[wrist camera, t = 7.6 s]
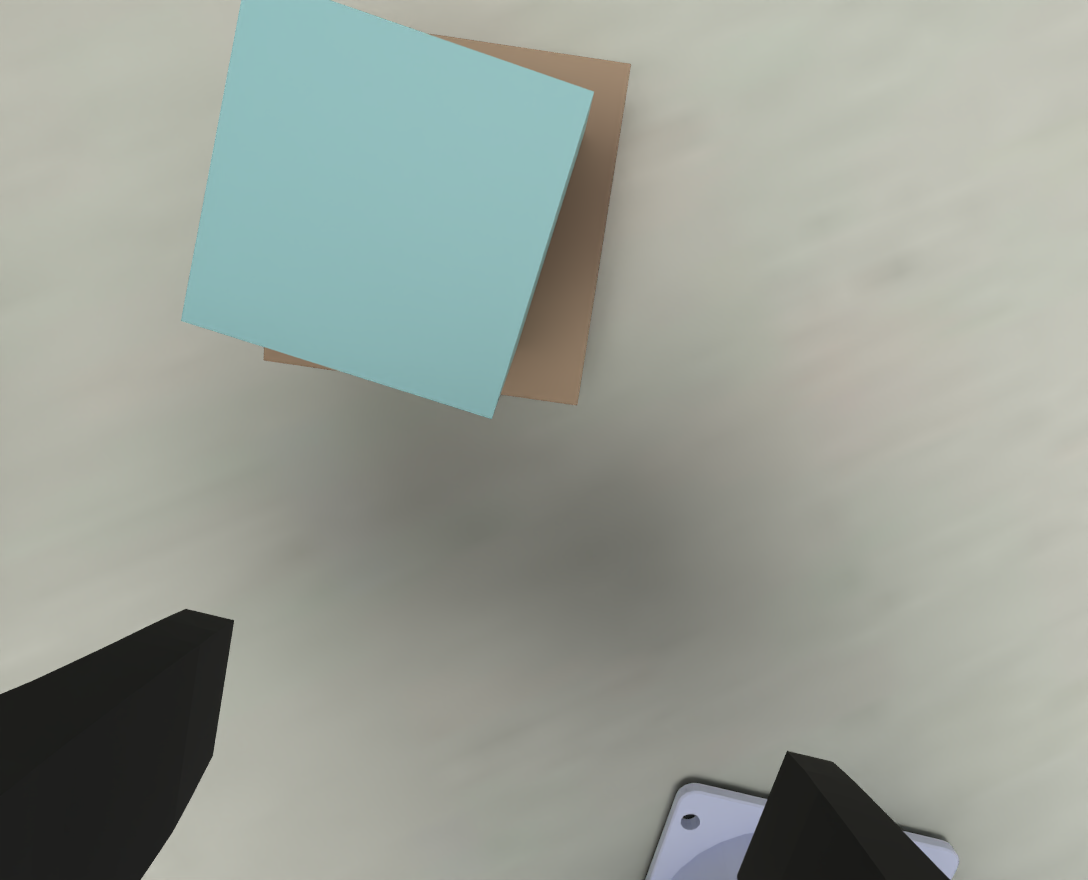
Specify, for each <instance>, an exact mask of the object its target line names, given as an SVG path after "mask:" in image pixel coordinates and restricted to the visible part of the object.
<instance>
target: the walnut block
mask: <svg viewBox="0 0 1088 880" xmlns="http://www.w3.org/2000/svg"><path fill="white" fill-rule="evenodd" d="M426 34H427V33H426ZM429 35H432V36H435V37H438V38H440V39H443V40H446V41H449V42H452V43H455V44H458V45H461V46H464V47H466V48H469V49H472V50H475V51H478V52H481V53H484V54H487V55H490V56H492V57H495V58H498V59H501V60H504V61H507V62H510V63H513V64H516V65H518V66H521V67H524V68H527V69H530V70H533V71H536V72H539V73H542V74H544V75H547V76H550V77H553V78H556V79H559V80H562V81H565V82H568V83H570V84H573V85H576V86H579V87H582V88H585V89H588V90H591V91H594V95H593V99H592V103H591V107H590V111H589V116H588V120H587V124H586V128H585V132H584V136H583V139H582V142H581V145H580V148H579V152H578V155H577V158H576V161H575V164H574V168H573V171H572V174H571V177H570V180H569V183H568V187H567V190H566V193H565V196H564V199H563V202H562V206H561V209H560V212H559V215H558V218H557V222H556V225H555V228H554V231H553V234H552V237H551V241H550V244H549V247H548V250H547V253H546V257H545V260H544V263H543V266H542V269H541V272H540V276H539V279H538V282H537V285H536V288H535V292H534V295H533V298H532V301H531V304H530V307H529V311H528V314H527V317H526V320H525V323H524V327H523V330H522V333H521V336H520V339H519V342H518V346H517V349H516V352H515V355H514V358H513V360H512V363H511V366H510V369H509V372H508V374H507V377H506V380H505V383H504V386H503V389H502V391H501V395H508V396H515V397H522V398H529V399H536V400H543V401H550V402H557V403H564V404H571V405H577V403H578V397H579V391H580V384H581V378H582V371H583V365H584V359H585V352H586V346H587V340H588V333H589V327H590V321H591V314H592V308H593V302H594V295H595V289H596V283H597V276H598V270H599V264H600V257H601V251H602V245H603V238H604V232H605V226H606V219H607V213H608V206H609V200H610V194H611V187H612V181H613V175H614V168H615V162H616V156H617V149H618V143H619V137H620V130H621V124H622V118H623V111H624V105H625V99H626V92H627V86H628V80H629V73H630V67H631V64H628V63H621V62H614V61H608V60H601V59H594V58H588V57H581V56H574V55H568V54H561V53H554V52H548V51H541V50H534V49H528V48H521V47H514V46H508V45H501V44H494V43H488V42H481V41H474V40H467V39H461V38H454V37H447V36H441V35H434V34H429ZM264 360H265V361H272V362H279V363H286V364H293V365H300V366H307V367H313V368H320V369H327V370H334V371H338V370H335V369H332V368H329V367H325V366H322V365H319V364H316V363H313V362H310V361H307V360H303V359H300V358H297V357H294V356H291V355H288V354H284V353H281V352H278V351H275V350H272V349H269V348H265V347H264Z"/></svg>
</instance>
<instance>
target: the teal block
mask: <svg viewBox="0 0 1088 880" xmlns="http://www.w3.org/2000/svg"><path fill="white" fill-rule="evenodd" d="M593 95H594V91H591V90H588V89H585V88H582V87H579V86H576V85H573V84H570V83H568V82H565V81H562V80H559V79H556V78H553V77H550V76H547V75H544V74H542V73H539V72H536V71H533V70H530V69H527V68H524V67H521V66H518V65H516V64H513V63H510V62H507V61H504V60H501V59H498V58H495V57H492V56H490V55H487V54H484V53H481V52H478V51H475V50H472V49H469V48H466V47H464V46H461V45H458V44H455V43H452V42H449V41H446V40H443V39H440V38H438V37H435V36H432V35H429V34H426V33H423V32H420V31H417V30H414V29H412V28H409V27H406V26H403V25H400V24H397V23H394V22H391V21H388V20H386V19H383V18H380V17H377V16H374V15H371V14H368V13H365V12H362V11H360V10H357V9H354V8H351V7H348V6H345V5H342V4H339V3H337V2H334V1H331V0H241V5H240V10H239V16H238V21H237V26H236V31H235V37H234V42H233V47H232V53H231V58H230V63H229V69H228V74H227V79H226V85H225V90H224V95H223V101H222V106H221V111H220V117H219V122H218V127H217V132H216V138H215V143H214V148H213V154H212V159H211V164H210V170H209V175H208V180H207V186H206V191H205V196H204V202H203V207H202V212H201V217H200V223H199V228H198V233H197V239H196V244H195V249H194V255H193V260H192V265H191V271H190V276H189V281H188V287H187V292H186V297H185V302H184V308H183V313H182V318H181V321H183V322H187V323H190V324H193V325H196V326H199V327H202V328H205V329H209V330H212V331H215V332H218V333H221V334H224V335H228V336H231V337H234V338H237V339H240V340H243V341H247V342H250V343H253V344H256V345H259V346H262V347H265V348H269V349H272V350H275V351H278V352H281V353H284V354H288V355H291V356H294V357H297V358H300V359H303V360H307V361H310V362H313V363H316V364H319V365H322V366H325V367H329V368H332V369H335V370H338V371H341V372H344V373H348V374H351V375H354V376H357V377H360V378H363V379H367V380H370V381H373V382H376V383H379V384H382V385H385V386H389V387H392V388H395V389H398V390H401V391H404V392H408V393H411V394H414V395H417V396H420V397H423V398H426V399H430V400H433V401H436V402H439V403H442V404H445V405H449V406H452V407H455V408H458V409H461V410H464V411H468V412H471V413H474V414H477V415H480V416H483V417H486V418H490V419H492V417H493V414H494V411H495V408H496V405H497V403H498V400H499V397H500V394H501V391H502V389H503V386H504V383H505V380H506V377H507V374H508V372H509V369H510V366H511V363H512V360H513V358H514V355H515V352H516V349H517V346H518V342H519V339H520V336H521V333H522V330H523V327H524V323H525V320H526V317H527V314H528V311H529V307H530V304H531V301H532V298H533V295H534V292H535V288H536V285H537V282H538V279H539V276H540V272H541V269H542V266H543V263H544V260H545V257H546V253H547V250H548V247H549V244H550V241H551V237H552V234H553V231H554V228H555V225H556V222H557V218H558V215H559V212H560V209H561V206H562V202H563V199H564V196H565V193H566V190H567V187H568V183H569V180H570V177H571V174H572V171H573V168H574V164H575V161H576V158H577V155H578V152H579V148H580V145H581V142H582V139H583V136H584V132H585V128H586V124H587V120H588V116H589V111H590V107H591V103H592V99H593Z"/></svg>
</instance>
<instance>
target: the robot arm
mask: <svg viewBox="0 0 1088 880" xmlns="http://www.w3.org/2000/svg"><path fill="white" fill-rule="evenodd" d="M233 624H234V620H230V619H226V618H222V617H218V616H213V615H209V614H205V613H201V612H197V611H192V610H188V609H185V610H182V611H180V612H178V613H175V614H173V615H171V616H169V617H167V618H164V619H162V620H160V621H158V622H156V623H154V624H152V625H150V626H148V627H145V628H143V629H141V630H139V631H137V632H135V633H133V634H131V635H129V636H127V637H125V638H123V639H121V640H119V641H117V642H114V643H112V644H110V645H108V646H106V647H104V648H102V649H100V650H98V651H96V652H93V653H91V654H89V655H87V656H85V657H83V658H81V659H79V660H76V661H74V662H72V663H70V664H68V665H66V666H64V667H61V668H59V669H57V670H55V671H53V672H51V673H49V674H46V675H44V676H42V677H40V678H38V679H36V680H33V681H31V682H29V683H26V684H24V685H21V686H19V687H17V688H14V689H12V690H10V691H7V692H5V693H2V694H0V880H141V878H142V877H143V875H144V874H145V872H146V871H147V869H148V868H149V866H150V865H151V864H152V862H153V861H154V859H155V858H156V856H157V855H158V853H159V852H160V850H161V849H162V847H163V846H164V844H165V843H166V841H167V840H168V838H169V837H170V835H171V834H172V832H173V830H174V829H175V827H176V825H177V823H178V821H179V819H180V817H181V816H182V814H183V812H184V810H185V808H186V806H187V804H188V803H189V801H190V799H191V797H192V795H193V793H194V791H195V789H196V787H197V785H198V783H199V781H200V779H201V777H202V776H203V774H204V772H205V770H206V768H207V766H208V764H209V762H210V760H211V758H212V756H213V751H214V744H215V738H216V732H217V725H218V719H219V713H220V706H221V700H222V694H223V687H224V681H225V675H226V668H227V662H228V656H229V649H230V643H231V637H232V631H233ZM687 814H694V815H696V816H695V817H694V818H692V819H684V818H683V816H685V815H687ZM958 865H959V858H958V855H957V853H956V852H955V850H954V848H953V847H952V846H951V845H950V844H949V843H948V842H946V841H944V840H940V839H936V838H931V837H927V836H923V835H919V834H914V833H910V832H906V831H902V830H901V829H900V827H899V826H898V825H897V824H896V823H895V822H894V821H893V820H892V819H891V818H890V817H889V816H888V815H887V814H886V813H885V812H884V811H883V810H882V809H881V808H880V807H879V806H878V805H877V804H876V803H875V802H874V801H873V800H872V799H871V798H870V797H869V796H868V795H867V794H866V793H865V792H864V791H863V790H862V789H861V788H860V787H859V786H858V785H857V784H856V783H855V782H854V781H853V780H852V779H851V778H850V777H849V776H848V775H847V774H846V773H845V772H843V771H842V770H841V769H840V768H839V767H838V766H837V765H836V764H834V763H833V762H831V761H827V760H823V759H818V758H814V757H810V756H806V755H802V754H797V753H793V752H789V751H787V752H786V755H785V757H784V760H783V762H782V765H781V767H780V770H779V772H778V775H777V777H776V780H775V782H774V785H773V787H772V790H771V792H770V795H769V797H768V799H764V798H760V797H756V796H751V795H747V794H743V793H739V792H734V791H730V790H726V789H721V788H717V787H713V786H709V785H704V784H700V783H690V784H686V785H684V786H683V787H681V788H680V789H679V791H678V792H677V794H676V796H675V799H674V802H673V804H672V807H671V810H670V813H669V816H668V818H667V821H666V824H665V827H664V829H663V832H662V835H661V838H660V840H659V843H658V846H657V849H656V851H655V854H654V857H653V860H652V862H651V865H650V868H649V871H648V873H647V876H646V879H645V880H952V878H953V876H954V874H955V872H956V870H957V868H958Z"/></svg>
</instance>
